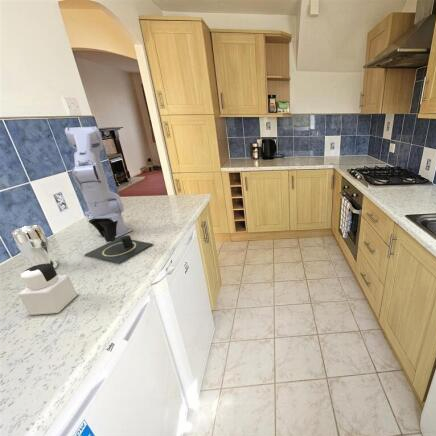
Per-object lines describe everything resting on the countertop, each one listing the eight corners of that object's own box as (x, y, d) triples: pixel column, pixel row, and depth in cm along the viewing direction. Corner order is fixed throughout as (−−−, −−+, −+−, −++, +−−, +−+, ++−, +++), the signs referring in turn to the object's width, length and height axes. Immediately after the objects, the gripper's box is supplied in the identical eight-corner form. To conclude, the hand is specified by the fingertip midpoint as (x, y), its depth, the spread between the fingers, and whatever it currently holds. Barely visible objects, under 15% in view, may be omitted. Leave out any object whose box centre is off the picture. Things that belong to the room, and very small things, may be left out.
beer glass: (64, 264, 85) (46, 225, 79) (39, 276, 79) (18, 235, 73) (51, 261, 87) (32, 223, 81) (26, 272, 81) (4, 232, 75)
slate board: (85, 255, 90) (84, 253, 90) (120, 238, 102) (120, 237, 102) (119, 264, 84) (118, 262, 84) (152, 245, 96) (152, 243, 96)
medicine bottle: (52, 296, 69) (33, 261, 65) (78, 294, 70) (61, 259, 65) (29, 315, 63) (7, 277, 58) (58, 313, 63) (38, 275, 59)
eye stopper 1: (103, 241, 87) (100, 231, 85) (112, 237, 90) (108, 227, 88) (109, 242, 86) (106, 232, 85) (117, 238, 89) (114, 229, 87)
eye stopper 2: (122, 247, 94) (119, 238, 92) (129, 243, 96) (126, 234, 95) (127, 248, 93) (124, 239, 91) (134, 244, 95) (131, 235, 94)
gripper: (69, 202, 81) (84, 238, 86) (99, 207, 76) (112, 244, 82) (91, 196, 87) (104, 230, 92) (120, 200, 82) (131, 235, 88)
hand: (109, 236), depth 87 cm, fingers closed on eye stopper 1, 3 cm apart
